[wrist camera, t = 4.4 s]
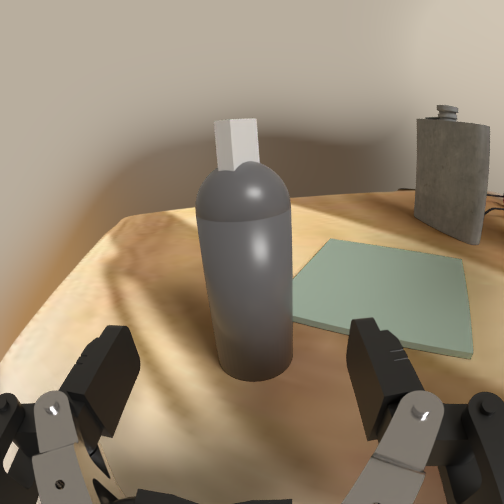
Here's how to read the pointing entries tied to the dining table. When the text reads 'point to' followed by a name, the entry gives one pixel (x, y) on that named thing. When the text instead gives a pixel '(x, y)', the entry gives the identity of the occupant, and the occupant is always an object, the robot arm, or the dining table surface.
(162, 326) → the dining table surface
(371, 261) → the mat
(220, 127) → the grey bottle
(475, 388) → the dining table surface
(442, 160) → the hip flask
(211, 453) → the dining table surface
